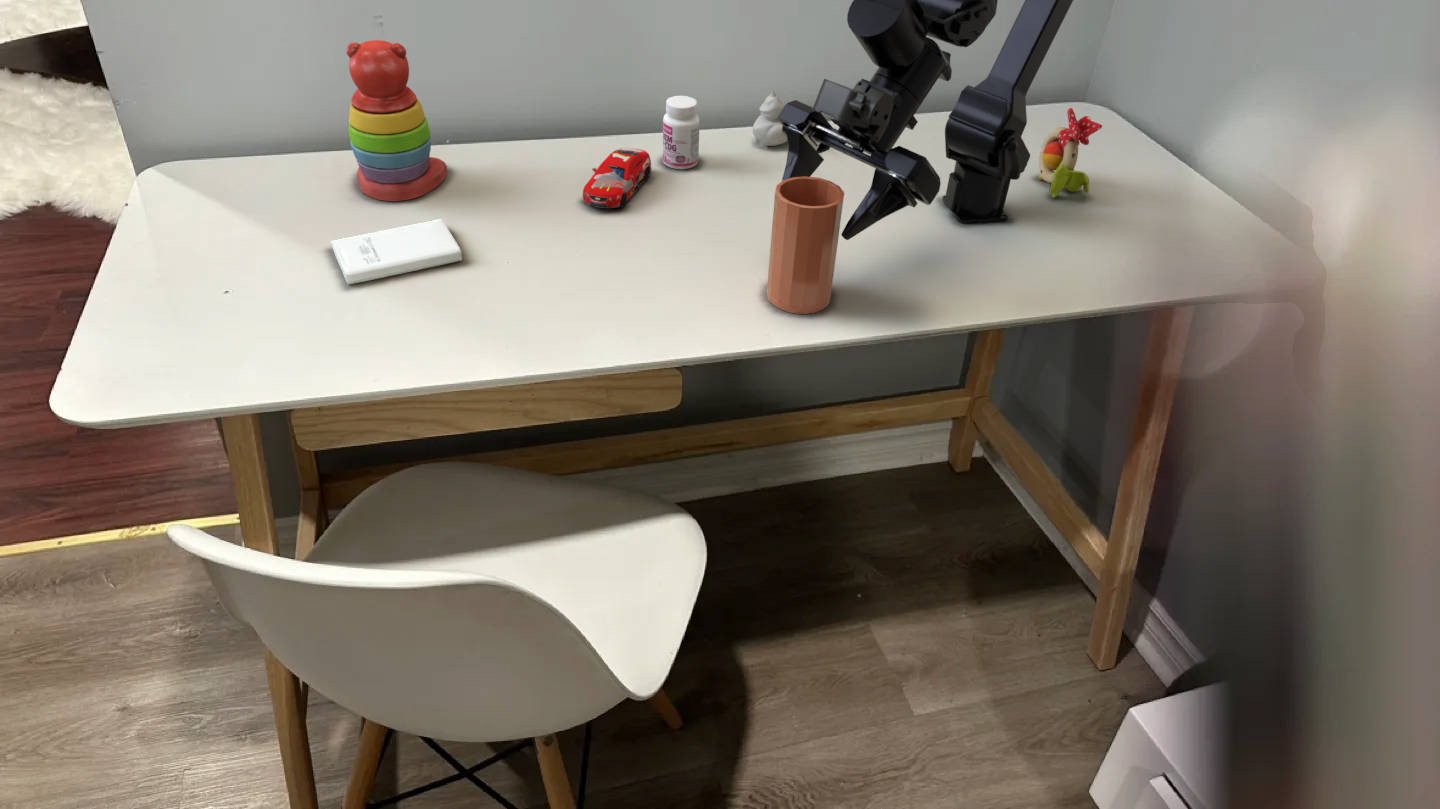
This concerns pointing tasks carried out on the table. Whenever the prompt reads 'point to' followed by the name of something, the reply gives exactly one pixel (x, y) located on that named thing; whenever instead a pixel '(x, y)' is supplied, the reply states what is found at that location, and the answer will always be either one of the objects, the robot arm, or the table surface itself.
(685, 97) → the pill bottle
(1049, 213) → the table surface
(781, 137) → the white rounded figure
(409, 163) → the stacking bear
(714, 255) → the table surface
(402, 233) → the hard drive
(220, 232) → the table surface
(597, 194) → the race car
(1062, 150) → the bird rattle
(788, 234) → the pencil cup
